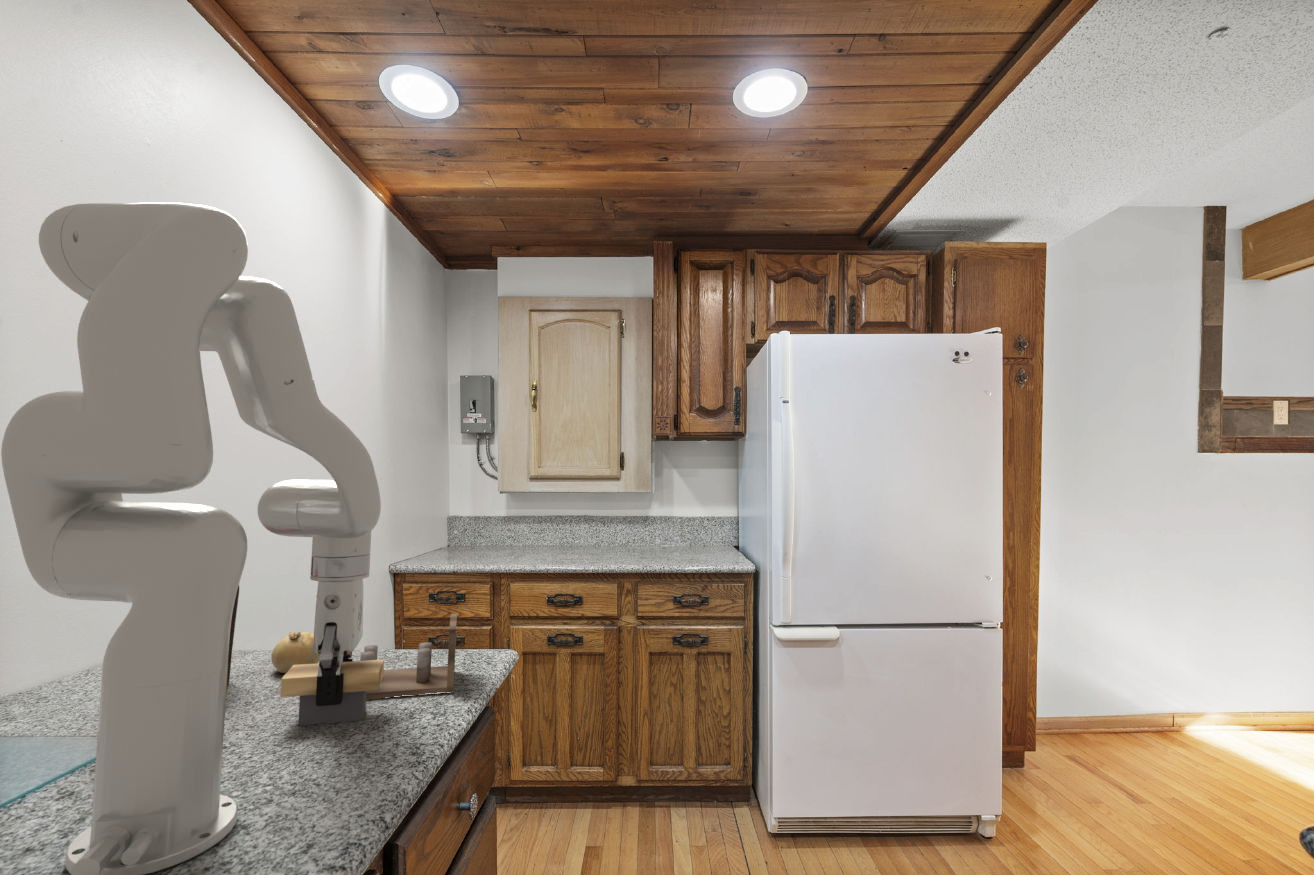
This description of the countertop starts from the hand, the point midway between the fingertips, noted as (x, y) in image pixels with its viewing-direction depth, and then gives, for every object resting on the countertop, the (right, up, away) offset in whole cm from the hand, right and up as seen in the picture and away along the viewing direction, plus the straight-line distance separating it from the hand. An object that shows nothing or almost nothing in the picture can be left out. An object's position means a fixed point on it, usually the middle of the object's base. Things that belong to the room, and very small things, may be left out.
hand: (334, 694), depth 87 cm
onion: (-17, -4, +20) cm, 26 cm away
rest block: (0, -3, 0) cm, 3 cm away
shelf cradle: (+3, -4, +13) cm, 14 cm away
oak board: (0, +1, 0) cm, 1 cm away
